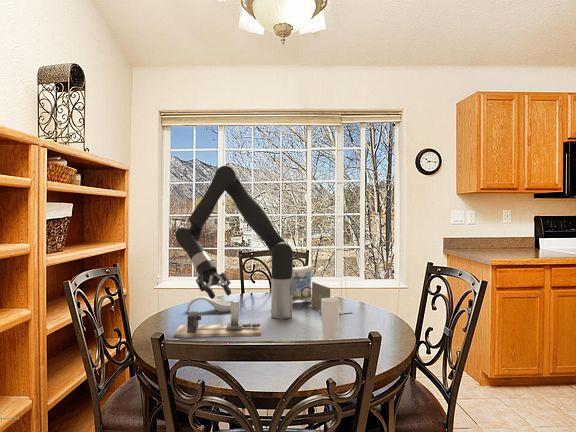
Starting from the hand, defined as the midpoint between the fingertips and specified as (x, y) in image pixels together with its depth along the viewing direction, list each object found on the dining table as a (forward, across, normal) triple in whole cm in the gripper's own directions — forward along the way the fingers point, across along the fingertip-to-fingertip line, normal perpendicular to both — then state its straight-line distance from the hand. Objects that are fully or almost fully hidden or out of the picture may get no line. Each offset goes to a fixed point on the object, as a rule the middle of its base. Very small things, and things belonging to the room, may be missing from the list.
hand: (221, 296), depth 158 cm
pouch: (+7, +55, +12) cm, 56 cm away
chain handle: (+15, +2, +1) cm, 15 cm away
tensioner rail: (+11, -4, +7) cm, 14 cm away
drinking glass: (+39, +14, -21) cm, 47 cm away
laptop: (+22, +54, -4) cm, 58 cm away
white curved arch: (-8, +16, +26) cm, 32 cm away
